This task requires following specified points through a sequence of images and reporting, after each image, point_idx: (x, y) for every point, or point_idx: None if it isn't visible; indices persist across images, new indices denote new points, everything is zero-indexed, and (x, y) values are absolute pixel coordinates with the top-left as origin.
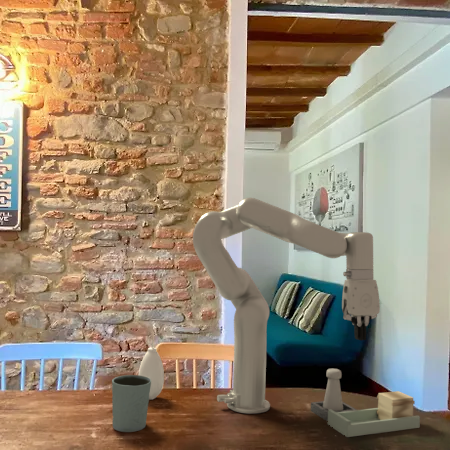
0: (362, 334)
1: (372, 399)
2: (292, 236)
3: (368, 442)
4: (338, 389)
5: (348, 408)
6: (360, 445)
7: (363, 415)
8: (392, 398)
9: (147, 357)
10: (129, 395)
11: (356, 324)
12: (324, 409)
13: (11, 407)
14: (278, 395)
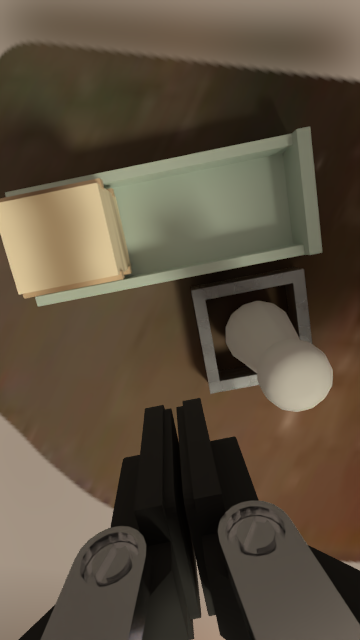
0: (191, 429)
1: (66, 446)
2: None
3: (244, 92)
4: (265, 331)
5: (208, 321)
6: (280, 71)
7: (181, 267)
8: (89, 200)
9: None
10: None
11: (300, 542)
12: (301, 306)
13: None
14: (344, 497)
